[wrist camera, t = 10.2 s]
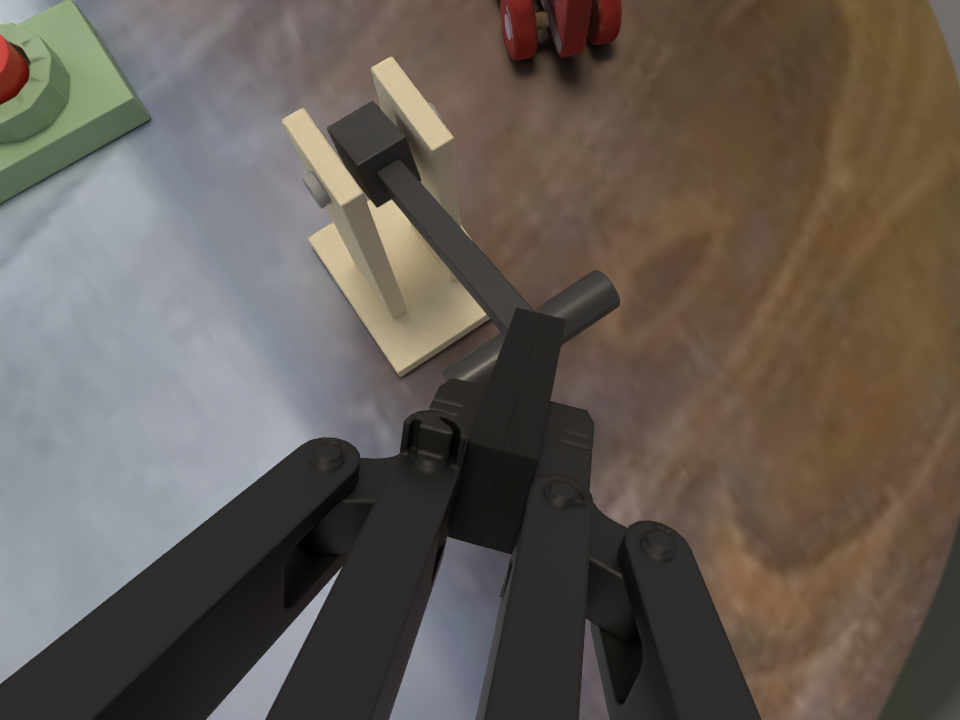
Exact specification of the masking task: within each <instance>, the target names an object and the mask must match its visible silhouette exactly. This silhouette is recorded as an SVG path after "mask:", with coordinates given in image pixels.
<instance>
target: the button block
mask: <svg viewBox="0 0 960 720" xmlns="http://www.w3.org/2000/svg"><path fill="white" fill-rule="evenodd" d="M0 35H2V36H3V37H4V38H5V39H6V40H7V41H8V42H9V43H10V44H11V45H12V46H13V47H14V48H15V49H16V50H17V51H18V52H19V53H20V54H21V55H22V56H23V57H24V59H25V60H26V62H27V64H28V67H29V79H28V82H27V83H26V84H25V86H24V87H23V88H22V90H21V91H20V92H19V94H18V95H17V96H16V97H14V98H12V99H11V100H9V101H7V102H5V103H3V104H1V105H0V203H2V202H4V201H5V200H7V199H9V198H11V197H13V196H14V195H16V194H18V193H20V192H21V191H23V190H25V189H27V188H29V187H30V186H32V185H34V184H36V183H38V182H39V181H41V180H43V179H45V178H46V177H48V176H50V175H52V174H54V173H55V172H57V171H59V170H61V169H63V168H64V167H66V166H68V165H70V164H71V163H73V162H75V161H77V160H79V159H80V158H82V157H84V156H86V155H87V154H89V153H91V152H93V151H95V150H96V149H98V148H100V147H102V146H104V145H105V144H107V143H109V142H111V141H112V140H114V139H116V138H118V137H120V136H121V135H123V134H125V133H127V132H128V131H130V130H132V129H134V128H136V127H137V126H139V125H141V124H143V123H145V122H146V121H148V120H150V119H151V117H150V115H149V114H148V112H147V111H146V109H145V108H144V106H143V104H142V103H141V101H140V100H139V98H138V97H137V95H136V93H135V92H134V90H133V89H132V87H131V86H130V84H129V82H128V81H127V79H126V78H125V76H124V75H123V73H122V71H121V70H120V68H119V67H118V65H117V64H116V62H115V60H114V59H113V57H112V56H111V54H110V53H109V51H108V49H107V48H106V46H105V45H104V43H103V42H102V40H101V38H100V37H99V35H98V34H97V32H96V31H95V29H94V27H93V26H92V24H91V23H90V21H89V20H88V19H87V18H86V16H85V15H84V14H83V13H82V11H81V10H80V9H79V8H78V6H77V5H76V4H75V3H74V1H73V0H65V1H63V2H61V3H59V4H57V5H55V6H53V7H51V8H49V9H47V10H45V11H44V12H42V13H40V14H38V15H36V16H34V17H32V18H30V19H28V20H26V21H24V22H23V23H21V24H19V25H15V24H12V23H10V24H0Z"/></svg>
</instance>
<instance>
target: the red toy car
mask: <svg viewBox="0 0 960 720" xmlns="http://www.w3.org/2000/svg"><path fill="white" fill-rule="evenodd" d="M541 3H542V6H543V9H544V11H543V12H535V10H534V6H533V2H532V0H501V19H502V27H503V33H504V38H505V42H506V46H507V49H508V52H509V54H510V56H511V58H512V59H513V60H518V61H519V60H522V59H527V58H531V57H533V56H534V55H535V54H536V51H537V47H538V34H537V30H541V29H547V30H548V33H549V35H550V36H551V38H552V39H553V41H554V44H555V47H556V50H557V53H558V55H559V56H560V57H561V58H565V57H568V56H572V55H576V54H579V53H581V52H583V50H584V49H585V45H586V37H587V39H588V40H589V42H590V43H591V44H594V45H599V44H603V43H608V42H611V41H614V40H615V39H616V37H617V36H618V33H619V31H620V26H621V14H622V10H621V0H541Z"/></svg>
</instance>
